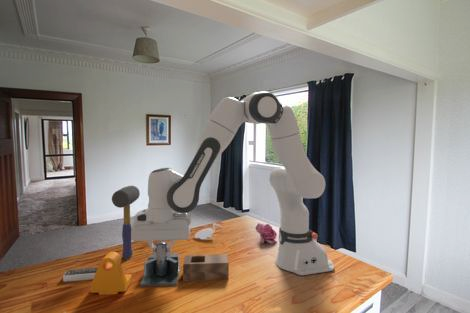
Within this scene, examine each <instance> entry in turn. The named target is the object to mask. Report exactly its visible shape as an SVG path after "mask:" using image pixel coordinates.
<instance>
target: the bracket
mask: <svg viewBox="0 0 470 313" xmlns="http://www.w3.org/2000/svg"><path fill="white" fill-rule="evenodd" d="M121 263H122V255H120V253H118V252H116V251H109V252H107V254H106V255H105V256H104V257H103V258H102V259H101V260H100V261H99V264H98V266H97V267H96V268H97V271H96V273H95V276H94V279H92V281H91V284H90V288H89V290H90V294H91V293H94V294H95V293H96V294H97V293H98V295H99V296H101V295H102V296H104V295H105V296H106V295H117V294H119V292H126V291H127V290H128V288H129V286H130V284H131V283H132V282H133V278H132V277H133V276H132V274H131V273H129V274H128V273H126V274H125V273H124V270H123V268H122V266H121Z"/></svg>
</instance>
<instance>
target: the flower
mask: <svg viewBox="0 0 470 313" xmlns="http://www.w3.org/2000/svg"><path fill="white" fill-rule="evenodd" d="M255 230H256V232H257V233H258V234H259V238H260V240H261V245H263V244H264V243H265V242H267V243H268V244H275V243H277V241H276V238H277V236H278V235H277V232H276V231H275V230H274V229H273V227H272V226H271V225H270V224H268V223H267V224H263V223H262V224H261V223H257V225H256V226H255Z"/></svg>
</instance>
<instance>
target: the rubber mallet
mask: <svg viewBox="0 0 470 313" xmlns="http://www.w3.org/2000/svg"><path fill="white" fill-rule="evenodd" d="M140 194H141V193H140V190H139V188H138V187H137V186H135V185H128V186H124V187H122V188H120V189H118V190H117V191H115V192H114V193H113V194H112V196H111V202H112V204H113V205H114V207H117V208H118V209H119V208H123V224H122V231H121V238H122V252H121V257H122V258H123V259H124V260H129V259H131V258H132V256H133V250H132V249H133V248H132V239H131V230H132V224H131V204H134V202H136V201H137V200H138V199H139V198H140Z"/></svg>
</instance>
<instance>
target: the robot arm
mask: <svg viewBox="0 0 470 313" xmlns="http://www.w3.org/2000/svg"><path fill="white" fill-rule="evenodd" d="M243 123H249V124H256V125H259V124H265V125H266V126H267V128H268V131H269V135H270V140H271V145H272V149H273V154H274V156H275V159H276V160H277V161H279V163H281V165H282V166H278V167H275V168H273V169H272V170H271V172H270V174H269V184H270V185H271V187H272V188H273V189H274V191H275V194H276V197H277V201H278V203H279V204H278V205H279V210H280V227H279V231H278V242H279V245H278V251H277V255H276V259H275V264H276V266H278V267H279V268H280V269H282V270H285V271H287V272H291V273H294V274H296V275H298V276H307V275H312V274H319V273H325V272H331V271H334V269H335V266H334V263H333V262H332V261H331V259H330V258H329V257H328V253H327V251H326V249H325V248H324V246H323V245H321V244H320V243H319V242H318V241H316V240H317V239H318V236H319V235H318V234H317V233H316V232H314V231H312V230H311V229H309V227H310V226H309V225H310V222H309V221H310V212H309V209H308V207H307V206H306V205H305V204H304V201H303V199H317V198H320V197H321V196H322V195H323V194H324V192H325V188H326V180H325V177H324V175H323V174H321V173H320V172H319V171H318V170H317V169H316V168H315V166H314V165H313V164H312V163H311V161H310V159H309V158H308V155H307V153H306V151H305V149H304V144H303V140H302V137H301V132H300V128H299V127H300V126H299V124H298V121H297V118H296V114H295V113H294V110H293V109H292V108H291V106H288V105H286V104H282V103H281V102H280V100H279V99H278V97H276V95H275V94H274V93H272V92H269V91H264V90H263V91H258V92H253V93H251V94H249V95H247V96H244V97H242V99H241V98H240V100H239V99H237V98H235V97H231V96H227V97H224V98H223V99H221V100H220V101H219V103H218V104H217V105H216V106H215V108H214V109H213V111H212V112H211V113H210V115H209V117H208V119H207V121H206V123H205V124H204V127H203V129H202V131H201V135H200V138H199V142H198V146H197V150H196V153H195V155H194V157H193V159H192V160H191V162H190V163H189V166H188V167H187V169H186V171H185V173H184V174H181V173H179V172H176V171H175V170H174V169H172V168H170V167H162V168H161V167H160V168H158V169H154V170H152V171H151V172H150V173H149V175H148V179H147V181H148V182H147V196H148V204H147V208H144V209H142V210H139V211H138V212H136V214H135V215H134V216H133V220H134V221H133V223H132V224H131V228H132V230H131V241H133V242H147V245H148V246H149V248H150V249H151V251H150V252H151V254H152V253H156V245H154V241H157V242H158V241H169V243H170V245H167V252H168V253H171V252H172V250H173V246H174V244H175V241H186V240H189V239H190V236H191V225H190V224H191V223H192V218H191V215H190V214H188V213H189V212H192V211H193V210H194V209H195V208H196V207H197V206H198V204H199V200H200V191H201V188H202V187H201V186H202V184H203V182H204V180H205V179H206V176H207V175H208V173H209V171H210V169H211V168H212V166H213V164H214V163H215V161H216V160H217V159H218V158H219V157H220V155H221V154H222V153H223V152H224V151H225V150H226V149H227V148H228V146H230V144H231V142H232V140H234V137H235V136H236V134H237V133H238V130H239V128H240V127H241V125H242V124H243ZM302 198H303V199H302Z"/></svg>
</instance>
